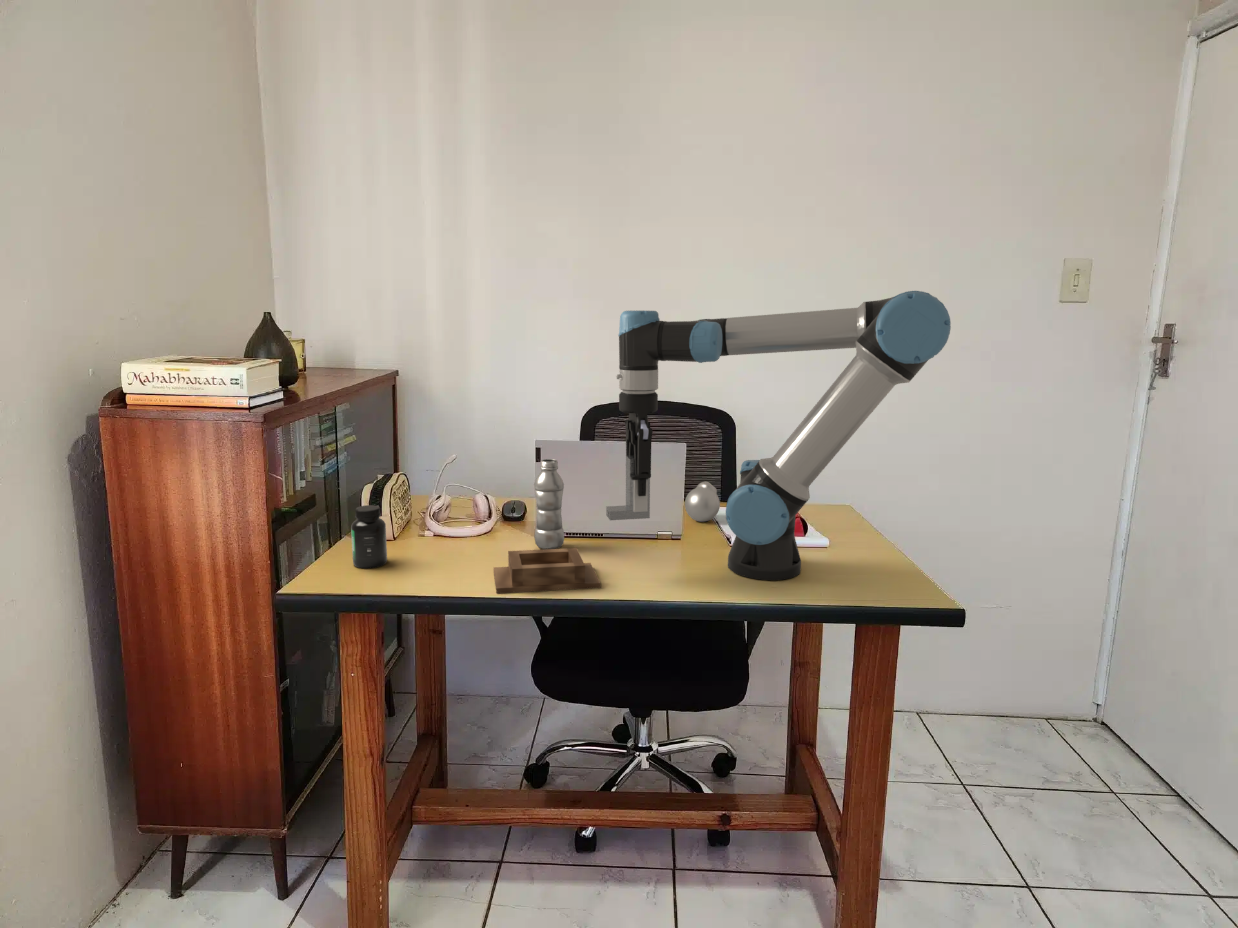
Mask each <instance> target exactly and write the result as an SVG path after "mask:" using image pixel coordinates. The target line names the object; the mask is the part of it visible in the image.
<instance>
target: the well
mask: <svg viewBox="0 0 1238 928" xmlns="http://www.w3.org/2000/svg"><path fill="white" fill-rule="evenodd" d="M507 554H508V555H507V557H508V558H507V559H508V562H507V563H508V566H495V567H494V566H493V568H492V569H493V577H494V585H495V593H496V594H507V593H508V594H509V593H510V594H511V593H523V592H524V593H527V592H543V591H544V592H548V591H563V590H579V589H580V590H583V589H600V588H601V581H600V579H599V577H598V575H597V572H596V571H595V569H594V567H593V565H592V563H591V562H584V561H583V558H582V556H581V554H580V553H579V550H578V548H577V547H572V548H570V547H569V548H557V549H526V550H525V549H522V550H508V553H507Z"/></svg>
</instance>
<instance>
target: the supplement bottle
mask: <svg viewBox="0 0 1238 928" xmlns="http://www.w3.org/2000/svg"><path fill="white" fill-rule="evenodd" d="M380 517H381V508H380V506H378V505H373V504H369V505H368V504H367V505H361V506H358V507H356V508H355V518H356V519H355V520H354V521H353V522H352V523H351V527H350V531H351V533H350V534H351V552H352V563H353V565H354V567H356V568H358V569H364V570H365V569H366V570H367V569H376V568H380V567H382V566H384V565H386V563H387V561H388V547H387V544H388V543H387V528H386V525H387V524H386V523H385V520H383V518H380Z"/></svg>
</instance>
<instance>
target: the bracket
mask: <svg viewBox="0 0 1238 928" xmlns="http://www.w3.org/2000/svg"><path fill="white" fill-rule="evenodd" d="M631 477H635V462H634V456H626V455H625V505H609V506H605V511H606V512H605V513H606V517H607V518H608V520H609V521H624V520H625V521H626V520H640V519H641V520H642V519H643V520H644V519H650V518H651V516H650V514H651V499H650V498H651V478H648V511H643V512H634V511H633V484H634V480H632V479H631Z"/></svg>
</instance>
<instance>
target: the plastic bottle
mask: <svg viewBox="0 0 1238 928" xmlns="http://www.w3.org/2000/svg"><path fill="white" fill-rule="evenodd" d="M539 469H540V471H541V472H540V473H539V474H538V475H537V476H536V477H535V479H534V482H533V483H534V484H533V486H534V487H533V489H534V495H535V500H536V502H535V503H536V523H535V524H536V526H535V528H534V529H535V530H534V543H535V545H536V547H538V548H539V549H540V550H544V549H561V548H562V546H563V545H564V543H565V532H564V527H563V518H562V505H563V504H562V503H563V494H564V488H565V486H564V485H565V484H564V481H563V479H562V477H561V476H560V474H559V472H558V471H557V470H558V469H559V465H558V459H553V458H552V459H551V458H546V459H545V458H544V459H541V460H540V466H539Z"/></svg>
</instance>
